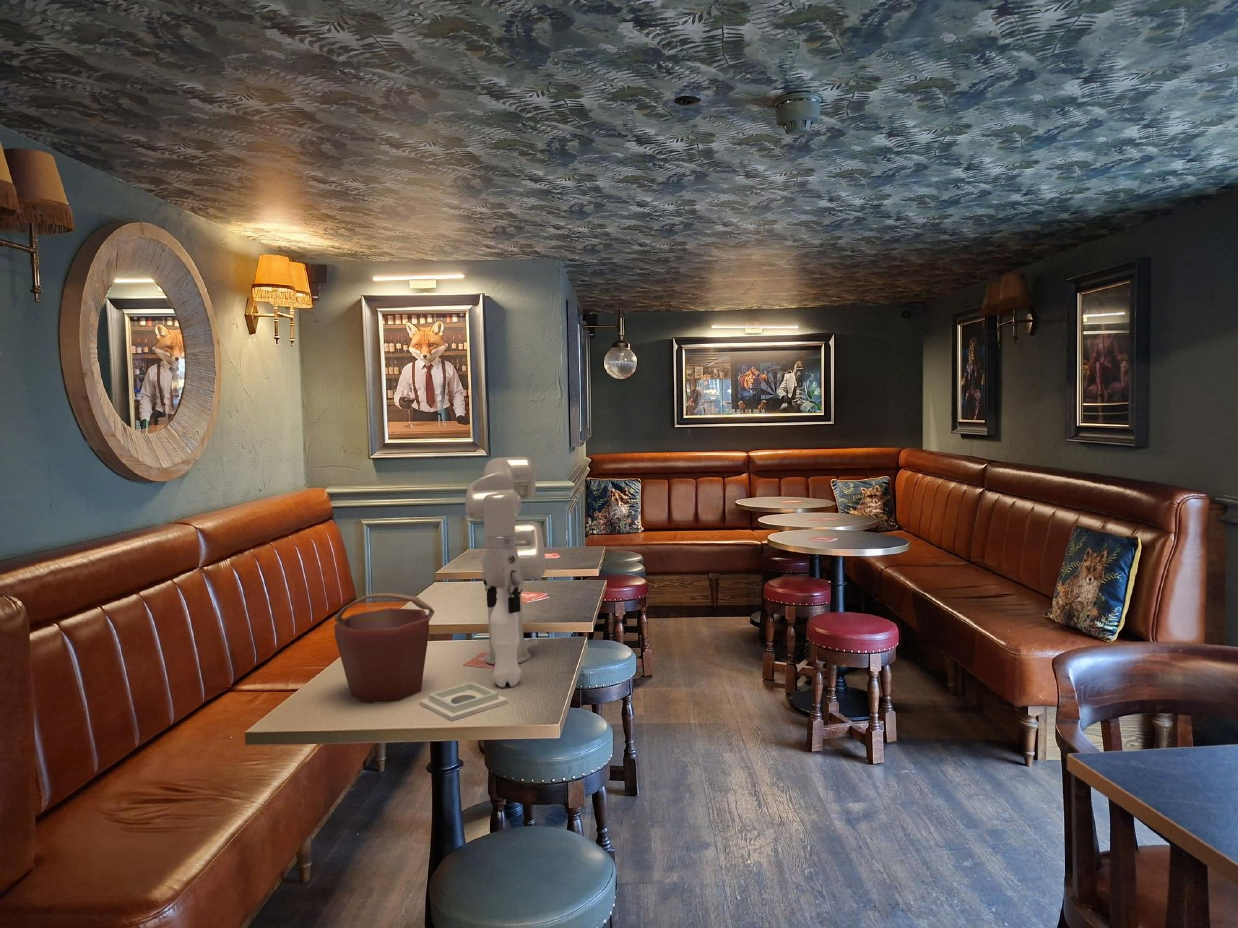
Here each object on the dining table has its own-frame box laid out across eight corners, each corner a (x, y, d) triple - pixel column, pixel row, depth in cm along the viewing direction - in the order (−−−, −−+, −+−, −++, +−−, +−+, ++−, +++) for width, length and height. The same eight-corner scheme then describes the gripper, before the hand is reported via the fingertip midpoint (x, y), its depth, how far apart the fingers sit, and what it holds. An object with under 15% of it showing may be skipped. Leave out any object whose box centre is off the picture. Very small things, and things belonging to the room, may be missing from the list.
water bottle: (493, 690, 197) (488, 591, 196) (493, 680, 204) (488, 585, 203) (522, 687, 198) (517, 589, 197) (521, 678, 205) (516, 583, 204)
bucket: (452, 680, 206) (447, 585, 204) (404, 712, 185) (398, 606, 183) (371, 675, 213) (366, 583, 212) (317, 704, 192) (310, 602, 191)
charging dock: (474, 688, 199) (474, 678, 199) (507, 702, 188) (507, 692, 188) (420, 704, 189) (419, 694, 189) (451, 720, 178) (451, 710, 178)
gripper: (532, 543, 195) (535, 611, 196) (494, 537, 208) (497, 601, 209) (507, 547, 190) (510, 617, 191) (469, 541, 203) (472, 606, 204)
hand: (503, 609), depth 200 cm, fingers open, 9 cm apart
